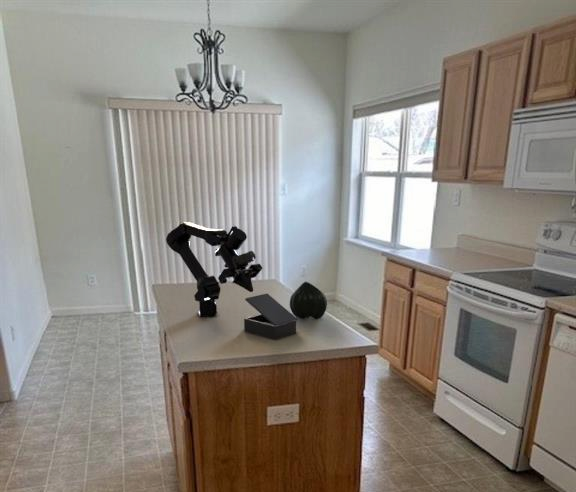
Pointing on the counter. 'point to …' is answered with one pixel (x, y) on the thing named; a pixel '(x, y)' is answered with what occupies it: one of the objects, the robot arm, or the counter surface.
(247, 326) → the case
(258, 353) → the counter surface
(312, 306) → the squash
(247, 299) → the cover
